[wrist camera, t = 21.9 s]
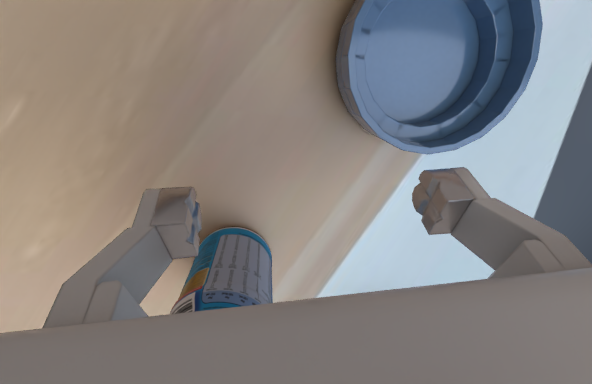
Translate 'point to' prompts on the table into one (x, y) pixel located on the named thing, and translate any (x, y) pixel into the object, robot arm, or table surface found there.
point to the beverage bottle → (228, 272)
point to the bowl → (436, 67)
